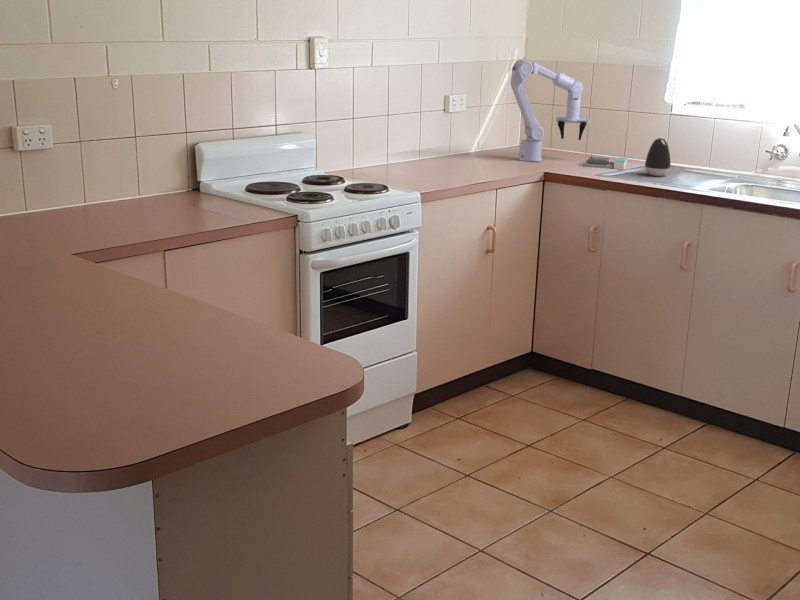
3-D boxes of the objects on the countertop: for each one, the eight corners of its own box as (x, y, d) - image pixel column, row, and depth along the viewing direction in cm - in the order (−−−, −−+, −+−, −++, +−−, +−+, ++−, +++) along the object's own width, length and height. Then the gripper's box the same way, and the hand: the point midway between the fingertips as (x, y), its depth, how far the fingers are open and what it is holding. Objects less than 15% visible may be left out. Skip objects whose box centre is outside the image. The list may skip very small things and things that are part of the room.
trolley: (587, 166, 404) (588, 155, 402) (590, 163, 410) (590, 153, 409) (606, 167, 401) (607, 157, 400) (608, 164, 408) (609, 154, 406)
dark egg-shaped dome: (672, 174, 386) (676, 138, 382) (665, 178, 378) (669, 140, 373) (648, 172, 392) (652, 135, 387) (640, 175, 383) (644, 138, 379)
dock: (582, 166, 402) (582, 159, 401) (586, 162, 413) (586, 155, 412) (623, 169, 397) (623, 162, 396) (626, 165, 407) (627, 158, 406)
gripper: (555, 108, 410) (553, 139, 414) (588, 109, 405) (585, 141, 409) (558, 106, 416) (556, 137, 420) (590, 108, 412) (588, 139, 416)
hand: (571, 139), depth 415 cm, fingers open, 7 cm apart
